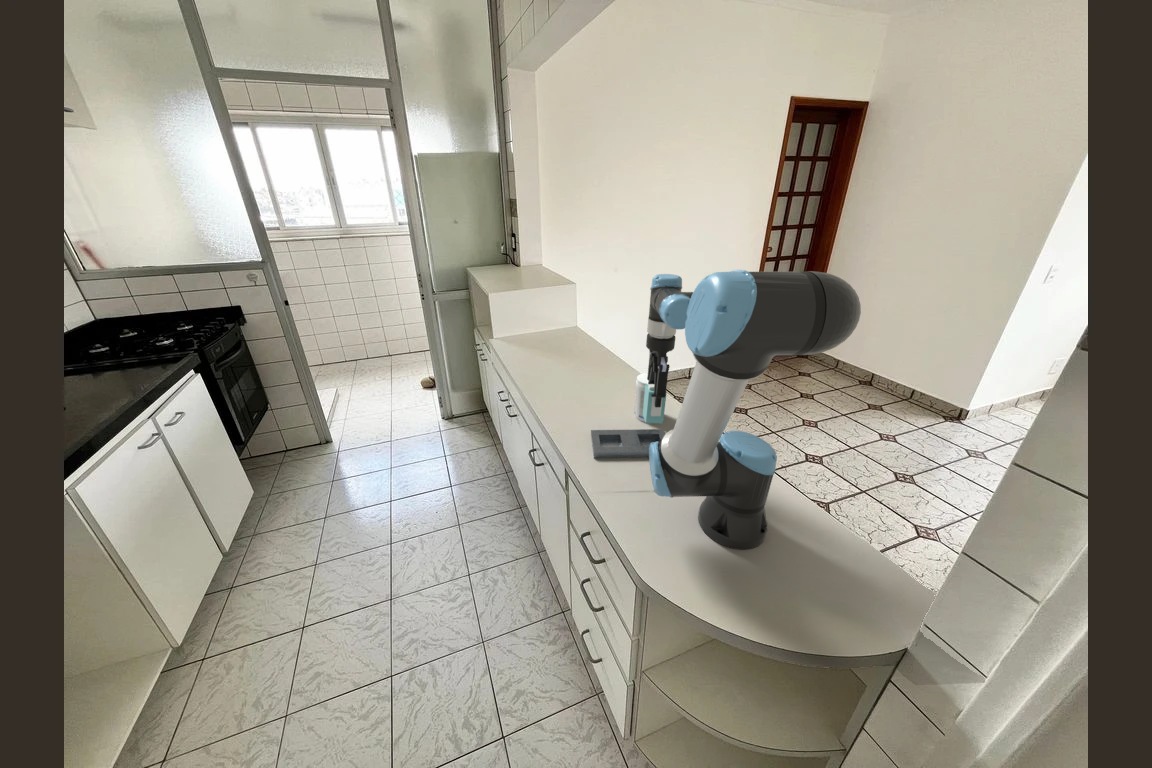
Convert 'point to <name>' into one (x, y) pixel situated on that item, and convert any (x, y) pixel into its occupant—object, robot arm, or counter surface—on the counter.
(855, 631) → the counter surface
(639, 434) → the grey socket board
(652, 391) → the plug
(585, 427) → the counter surface
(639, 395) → the supplement tub
